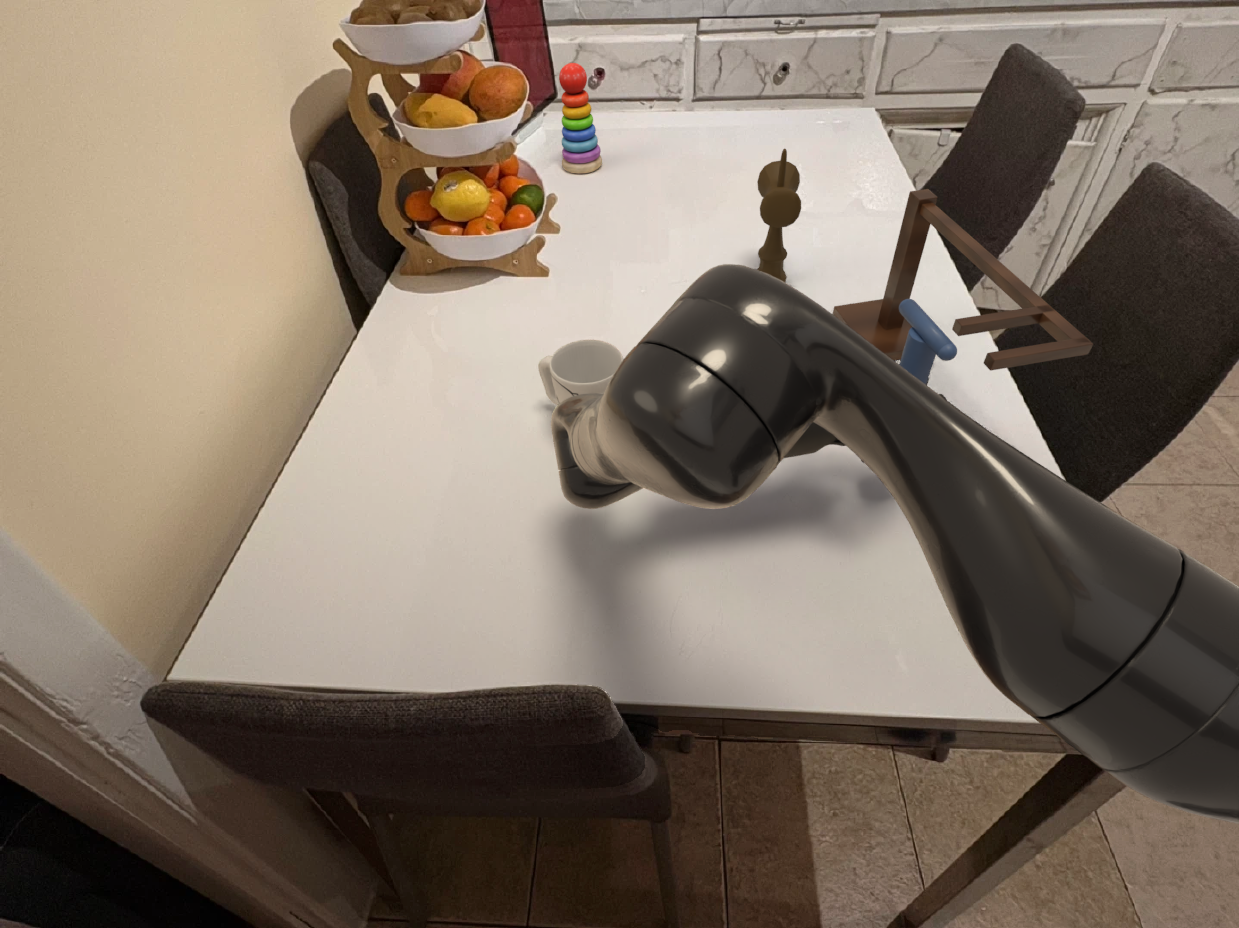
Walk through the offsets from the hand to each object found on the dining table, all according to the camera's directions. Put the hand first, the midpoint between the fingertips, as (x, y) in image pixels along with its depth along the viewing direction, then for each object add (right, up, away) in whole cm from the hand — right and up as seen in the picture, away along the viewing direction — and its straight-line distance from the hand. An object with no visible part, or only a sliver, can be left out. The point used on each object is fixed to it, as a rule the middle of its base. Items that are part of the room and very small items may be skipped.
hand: (933, 392), depth 70 cm
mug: (-35, -2, +19) cm, 40 cm away
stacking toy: (-38, +52, +73) cm, 97 cm away
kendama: (-8, +21, +40) cm, 46 cm away
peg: (-2, -6, +6) cm, 9 cm away
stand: (+6, +2, +21) cm, 22 cm away
